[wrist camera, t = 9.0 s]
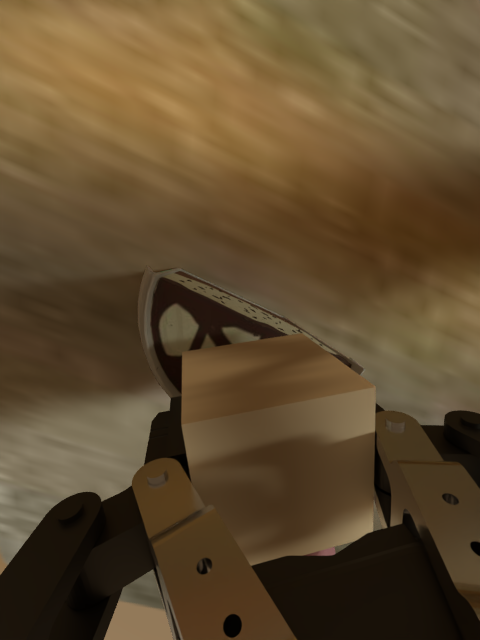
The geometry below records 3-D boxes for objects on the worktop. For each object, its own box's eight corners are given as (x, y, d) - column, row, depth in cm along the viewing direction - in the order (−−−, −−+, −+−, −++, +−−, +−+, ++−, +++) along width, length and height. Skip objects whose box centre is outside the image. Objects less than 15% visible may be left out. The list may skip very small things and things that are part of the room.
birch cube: (302, 333, 12) (375, 386, 8) (307, 435, 14) (372, 535, 9) (182, 351, 12) (181, 424, 7) (199, 458, 13) (208, 581, 8)
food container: (127, 333, 22) (85, 398, 13) (159, 258, 21) (140, 268, 12) (267, 387, 26) (317, 470, 16) (300, 324, 25) (373, 372, 15)
